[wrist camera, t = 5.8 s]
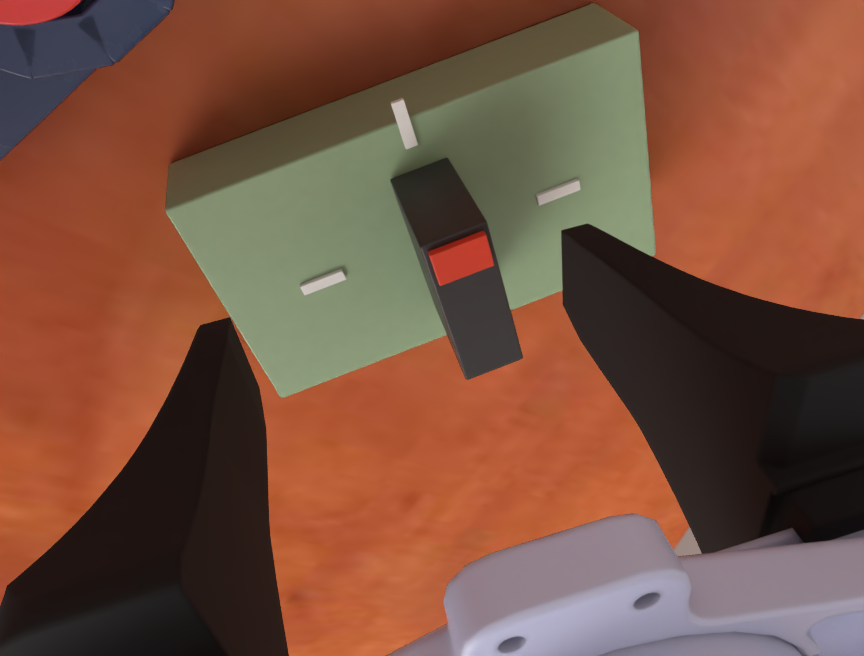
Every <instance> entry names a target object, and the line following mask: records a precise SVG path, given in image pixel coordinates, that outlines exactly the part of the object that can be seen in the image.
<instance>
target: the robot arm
mask: <svg viewBox="0 0 864 656" xmlns="http://www.w3.org/2000/svg"><path fill="white" fill-rule="evenodd" d="M561 247H562V288H563V306H564V308H565V310H566V312H567V314H568V316H569V318H570V320H571V322H572V324H573V326H574V328H575V330H576V332H577V334H578V336H579V338H580V340H581V342H582V343H583V345H584V346H585V348H586V349H587V351H588V352H589V354H590V355H591V357H592V358H593V359H594V361H595V362H596V364H597V365H598V367H599V368H600V370H601V371H602V373H603V374H604V375H605V377H606V378H607V380H608V381H609V383H610V384H611V386H612V387H613V388H614V390H615V391H616V393H617V394H618V396H619V397H620V398H621V400H622V401H623V403H624V404H625V406H626V407H627V409H628V410H629V411H630V413H631V415H632V416H633V418H634V419H635V421H636V423H637V424H638V426H639V427H640V429H641V431H642V433H643V435H644V437H645V438H646V440H647V442H648V444H649V446H650V448H651V450H652V451H653V453H654V455H655V457H656V459H657V461H658V463H659V465H660V467H661V469H662V471H663V473H664V475H665V477H666V479H667V481H668V483H669V485H670V487H671V489H672V491H673V492H674V494H675V496H676V498H677V501H678V503H679V505H680V507H681V509H682V511H683V513H684V515H685V518H686V520H687V522H688V524H689V526H690V528H691V530H692V532H693V534H694V537H695V538H696V541H697V543H698V546H699V548H700V550H701V552H702V554H697V555H686V556H677V555H676V554H675V552H674V550H673V549H672V547H671V545H670V544H669V542H668V540H667V539H666V537H665V535H664V534H663V532H662V530H661V529H660V527H659V525H658V523H657V522H656V520H653V519H650V518H647V517H644V516H641V515H638V514H625V515H618V516H611V517H607V518H603V519H600V520H597V521H594V522H590V523H587V524H584V525H581V526H577V527H574V528H571V529H568V530H564V531H561V532H558V533H555V534H551V535H548V536H545V537H542V538H539V539H535V540H532V541H529V542H526V543H522V544H519V545H516V546H513V547H509V548H506V549H503V550H500V551H496V552H493V553H490V554H488V555H486V556H484V557H482V558H480V559H478V560H475V561H473V562H471V563H469V564H467V565H466V566H465V567H464V568H463V569H462V570H461V571H460V572H459V573H458V574H457V575H456V576H455V577H454V578H453V579H451V581H450V582H449V583H448V585H447V588H446V592H445V597H444V601H443V603H444V607H445V611H446V615H447V624H445V625H443V626H441V627H439V628H437V629H435V630H433V631H431V632H430V633H428V634H426V635H424V636H422V637H420V638H418V639H416V640H414V641H412V642H411V643H409V644H407V645H405V646H403V647H401V648H399V649H397V650H395V651H394V652H392V653H390V654H388V655H386V656H864V320H863V319H854V318H846V317H840V316H834V315H828V314H822V313H817V312H811V311H806V310H802V309H797V308H792V307H788V306H784V305H780V304H776V303H772V302H768V301H765V300H761V299H757V298H754V297H751V296H747V295H744V294H741V293H738V292H735V291H732V290H729V289H726V288H723V287H720V286H718V285H715V284H712V283H710V282H707V281H704V280H702V279H700V278H697V277H695V276H693V275H690V274H688V273H686V272H683V271H681V270H679V269H677V268H674V267H672V266H670V265H668V264H666V263H664V262H662V261H660V260H658V259H656V258H654V257H652V256H650V255H648V254H646V253H644V252H642V251H640V250H638V249H636V248H634V247H632V246H630V245H629V244H627V243H625V242H623V241H621V240H619V239H617V238H615V237H614V236H612V235H610V234H608V233H606V232H604V231H602V230H600V229H599V228H597V227H595V226H592V225H590V224H588V223H587V224H583V225H579V226H576V227H572V228H568V229H564V230H561ZM0 656H289V654H288V648H287V642H286V637H285V631H284V625H283V619H282V613H281V606H280V600H279V593H278V587H277V581H276V574H275V567H274V560H273V553H272V546H271V538H270V526H269V505H268V470H267V439H266V425H265V419H264V413H263V407H262V401H261V395H260V389H259V386H258V383H257V381H256V379H255V376H254V374H253V371H252V369H251V367H250V364H249V362H248V359H247V357H246V355H245V352H244V350H243V348H242V345H241V343H240V340H239V338H238V336H237V333H236V331H235V328H234V326H233V324H232V321H231V319H230V317H229V318H226V319H222V320H218V321H214V322H210V323H207V324H203V325H200V327H199V328H198V330H197V332H196V334H195V337H194V339H193V342H192V344H191V347H190V349H189V351H188V354H187V356H186V358H185V361H184V363H183V365H182V367H181V370H180V372H179V374H178V376H177V378H176V380H175V382H174V384H173V386H172V388H171V390H170V392H169V394H168V397H167V398H166V400H165V402H164V404H163V406H162V408H161V409H160V411H159V413H158V415H157V417H156V418H155V420H154V422H153V424H152V425H151V427H150V429H149V431H148V432H147V434H146V436H145V437H144V439H143V440H142V442H141V443H140V445H139V447H138V448H137V450H136V451H135V453H134V454H133V455H132V457H131V458H130V460H129V461H128V463H127V464H126V465H125V467H124V468H123V469H122V471H121V472H120V473H119V474H118V476H117V477H116V478H115V479H114V480H113V482H112V483H111V484H110V485H109V486H108V488H107V489H106V490H105V491H104V492H103V494H102V495H101V496H100V497H99V499H98V500H97V501H96V502H95V503H94V504H93V506H92V507H91V508H90V509H89V510H88V511H87V512H86V513H85V514H84V515H83V516H82V517H81V518H80V519H79V521H78V522H77V523H76V524H75V525H74V526H73V527H72V528H71V529H70V530H69V531H68V532H67V533H66V534H65V535H64V536H63V537H62V538H61V539H60V540H59V541H58V542H56V543H55V544H54V545H53V546H52V547H51V548H50V549H49V550H48V551H47V552H46V553H45V554H43V555H42V556H41V557H40V558H39V559H38V560H37V561H35V562H34V563H33V564H32V565H31V566H30V567H29V568H27V569H26V570H25V571H24V572H23V573H22V574H21V575H19V576H18V577H17V578H16V579H15V580H14V581H12V582H11V583H10V584H9V585H7V588H6V591H5V594H4V597H3V600H2V603H1V606H0Z"/></svg>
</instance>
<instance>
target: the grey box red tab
mask: <svg viewBox="0 0 864 656" xmlns="http://www.w3.org/2000/svg"><path fill="white" fill-rule="evenodd" d="M390 182H391V185H392V188H393V190H394V193H395V196H396V199H397V202H398V204H399V207H400V210H401V213H402V216H403V218H404V221H405V224H406V227H407V230H408V232H409V235H410V238H411V241H412V244H413V246H414V249H415V252H416V255H417V258H418V260H419V263H420V266H421V269H422V272H423V274H424V277H425V280H426V283H427V286H428V288H429V291H430V294H431V297H432V300H433V303H434V305H435V308H436V310H437V312H438V315H439V317H440V320H441V322H442V324H443V327H444V329H445V331H446V334H447V336H448V338H449V341H450V343H451V345H452V348H453V350H454V353H455V355H456V357H457V360H458V362H459V364H460V367H461V369H462V371H463V374H464V376H465V378H466V379H467V380H468V379H471V378H474V377H476V376H479V375H481V374H484V373H487V372H489V371H492V370H494V369H497V368H500V367H502V366H505V365H507V364H510V363H513V362H515V361H518V360H520V359H522V358H523V355H522V352H521V348H520V344H519V340H518V337H517V333H516V329H515V325H514V321H513V318H512V314H511V310H510V306H509V302H508V299H507V295H506V291H505V287H504V283H503V280H502V276H501V272H500V268H499V265H498V261H497V257H496V253H495V249H494V246H493V242H492V238H491V234H490V230H489V227H488V223H487V221H486V219H485V217H484V216H483V214H482V213H481V211H480V209H479V208H478V206H477V204H476V203H475V201H474V199H473V198H472V196H471V195H470V193H469V191H468V190H467V188H466V186H465V185H464V183H463V181H462V180H461V178H460V177H459V175H458V173H457V172H456V170H455V168H454V167H453V165H452V164H451V162H450V160H449V159H448V158H444V159H441V160H439V161H436V162H433V163H431V164H428V165H426V166H423V167H420V168H418V169H415V170H412V171H410V172H407V173H405V174H402V175H399V176H397V177H394V178H391V179H390Z"/></svg>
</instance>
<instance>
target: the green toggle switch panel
mask: <svg viewBox="0 0 864 656" xmlns="http://www.w3.org/2000/svg"><path fill="white" fill-rule="evenodd" d="M444 158H448V159H449V160H450V162H451V164H452V165H453V167H454V168H455V170H456V172H457V173H458V175H459V177H460V178H461V180H462V181H463V183H464V185H465V186H466V188H467V190H468V191H469V193H470V195H471V196H472V198H473V199H474V201H475V203H476V204H477V206H478V208H479V209H480V211H481V213H482V214H483V216H484V217H485V219H486V221H487V223H488V227H489V230H490V234H491V238H492V242H493V246H494V249H495V253H496V257H497V261H498V265H499V268H500V272H501V276H502V280H503V283H504V287H505V291H506V295H507V299H508V302H509V306H510V310H513V309H515V308H518V307H521V306H523V305H526V304H528V303H531V302H534V301H536V300H539V299H541V298H544V297H547V296H549V295H552V294H554V293H557V292H560V291H562V290H563V288H562V247H561V230H564V229H568V228H572V227H576V226H579V225H583V224H587V223H588V224H590V225H592V226H595V227H597V228H599V229H600V230H602V231H604V232H606V233H608V234H610V235H612V236H614V237H615V238H617V239H619V240H621V241H623V242H625V243H627V244H629V245H630V246H632V247H634V248H636V249H638V250H640V251H642V252H644V253H646V254H648V255H650V256H653V255H655V254H656V247H655V234H654V222H653V209H652V196H651V183H650V170H649V157H648V145H647V132H646V119H645V106H644V93H643V80H642V68H641V55H640V42H639V32H638V30H637V29H635V28H634V27H632V26H631V25H629V24H627V23H626V22H624V21H623V20H621V19H619V18H618V17H616V16H615V15H613V14H611V13H610V12H608V11H607V10H605V9H604V8H602V7H600V6H599V5H597V4H596V3H592V4H590V5H587V6H584V7H582V8H579V9H576V10H574V11H571V12H569V13H566V14H563V15H561V16H558V17H555V18H553V19H550V20H547V21H545V22H542V23H540V24H537V25H534V26H532V27H529V28H526V29H524V30H521V31H518V32H516V33H513V34H511V35H508V36H505V37H503V38H500V39H497V40H495V41H492V42H489V43H487V44H484V45H482V46H479V47H476V48H474V49H471V50H468V51H466V52H463V53H460V54H458V55H455V56H453V57H450V58H447V59H445V60H442V61H439V62H437V63H434V64H431V65H429V66H426V67H424V68H421V69H418V70H416V71H413V72H410V73H408V74H405V75H402V76H400V77H397V78H395V79H392V80H389V81H387V82H384V83H381V84H379V85H376V86H373V87H371V88H368V89H366V90H363V91H360V92H358V93H355V94H352V95H350V96H347V97H345V98H342V99H339V100H337V101H334V102H331V103H329V104H326V105H323V106H321V107H318V108H316V109H313V110H310V111H308V112H305V113H302V114H300V115H297V116H294V117H292V118H289V119H287V120H284V121H281V122H279V123H276V124H273V125H271V126H268V127H265V128H263V129H260V130H258V131H255V132H252V133H250V134H247V135H244V136H242V137H239V138H236V139H234V140H231V141H229V142H226V143H223V144H221V145H218V146H215V147H213V148H210V149H207V150H205V151H202V152H200V153H197V154H194V155H192V156H189V157H186V158H184V159H181V160H178V161H176V162H173V163H171V164H169V167H168V179H167V192H166V204H165V212H166V214H167V215H168V217H169V219H170V220H171V222H172V223H173V225H174V227H175V228H176V230H177V231H178V233H179V235H180V236H181V238H182V240H183V241H184V243H185V244H186V246H187V248H188V249H189V251H190V252H191V254H192V256H193V257H194V259H195V260H196V262H197V264H198V265H199V267H200V269H201V270H202V272H203V273H204V275H205V277H206V278H207V280H208V281H209V283H210V285H211V286H212V288H213V289H214V291H215V293H216V294H217V296H218V298H219V299H220V301H221V302H222V304H223V306H224V307H225V309H226V310H227V312H228V314H229V315H230V317H231V318H232V320H233V322H234V323H235V325H236V327H237V328H238V330H239V331H240V333H241V335H242V336H243V338H244V339H245V341H246V343H247V344H248V346H249V348H250V349H251V351H252V352H253V354H254V356H255V357H256V359H257V360H258V362H259V364H260V365H261V367H262V368H263V370H264V372H265V373H266V375H267V377H268V378H269V380H270V381H271V383H272V385H273V386H274V388H275V389H276V391H277V393H278V394H279V396H280V397H281V398H284V397H287V396H289V395H292V394H294V393H297V392H300V391H302V390H305V389H307V388H310V387H313V386H315V385H318V384H320V383H323V382H326V381H328V380H331V379H333V378H336V377H339V376H341V375H344V374H346V373H349V372H352V371H354V370H357V369H359V368H362V367H365V366H367V365H370V364H372V363H375V362H378V361H380V360H383V359H385V358H388V357H391V356H393V355H396V354H398V353H401V352H404V351H406V350H409V349H411V348H414V347H417V346H419V345H422V344H424V343H427V342H430V341H432V340H435V339H437V338H440V337H443V336H445V335H447V334H446V331H445V329H444V327H443V324H442V322H441V320H440V317H439V315H438V312H437V310H436V308H435V305H434V303H433V300H432V297H431V294H430V291H429V288H428V286H427V283H426V280H425V277H424V274H423V272H422V269H421V266H420V263H419V260H418V258H417V255H416V252H415V249H414V246H413V244H412V241H411V238H410V235H409V232H408V230H407V227H406V224H405V221H404V218H403V216H402V213H401V210H400V207H399V204H398V202H397V199H396V196H395V193H394V190H393V188H392V185H391V182H390V179H391V178H394V177H397V176H399V175H402V174H405V173H407V172H410V171H412V170H415V169H418V168H420V167H423V166H426V165H428V164H431V163H433V162H436V161H439V160H441V159H444Z"/></svg>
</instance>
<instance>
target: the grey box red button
mask: <svg viewBox="0 0 864 656" xmlns="http://www.w3.org/2000/svg"><path fill="white" fill-rule="evenodd" d="M173 5H174V0H82V1H81V2H80V3H79V4H78V5H77V6H75V7H74V8H73V9H72V10H70V11H69V12H67V13H65V14H64V15H62V16H60V17H58V18H55V19H53V20H50V21H47V22H43V23H39V24H32V25H23V26H21V25H3V24H0V161H1V160H2V159H3V158H4V157H5V156H6V155H7V154H8V153H9V152H10V151H11V150H12V149H13V148H14V147H15V146H16V145H17V144H18V143H19V142H21V141H22V140H23V139H24V138H25V137H26V136H27V135H28V134H29V133H30V132H31V131H32V130H33V129H34V128H35V127H36V126H37V125H38V124H39V123H40V122H41V121H43V120H44V119H45V118H46V117H47V116H48V115H49V114H50V113H51V112H52V111H53V110H54V109H55V108H56V107H57V106H58V105H59V104H60V103H61V102H62V101H63V100H65V99H66V98H67V97H68V96H69V95H70V94H71V93H72V92H73V91H74V90H75V89H76V88H77V87H78V86H79V85H80V84H81V83H82V82H83V81H84V80H86V79H87V78H88V77H89V76H90V75H91V74H92V73H93V72H94V71H95V70H96V69H97V68H101V67H106V66H112V65H114V64H115V63H116V62H119V61H120V60H121V59H122V58H123V57H124V56H125V55H126V54H127V53H128V52H129V51H131V50H132V49H133V48H134V47H135V46H136V45H137V44H138V43H139V42H140V41H141V40H142V39H143V38H144V37H145V36H146V35H147V34H148V33H149V32H151V31H152V30H153V29H154V28H155V27H156V26H157V25H158V24H159V23H160V22H161V21H162V20H163V19H164V18H165V17H166V16H167V15H168V14H169V13H170V10H172V9H173Z"/></svg>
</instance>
